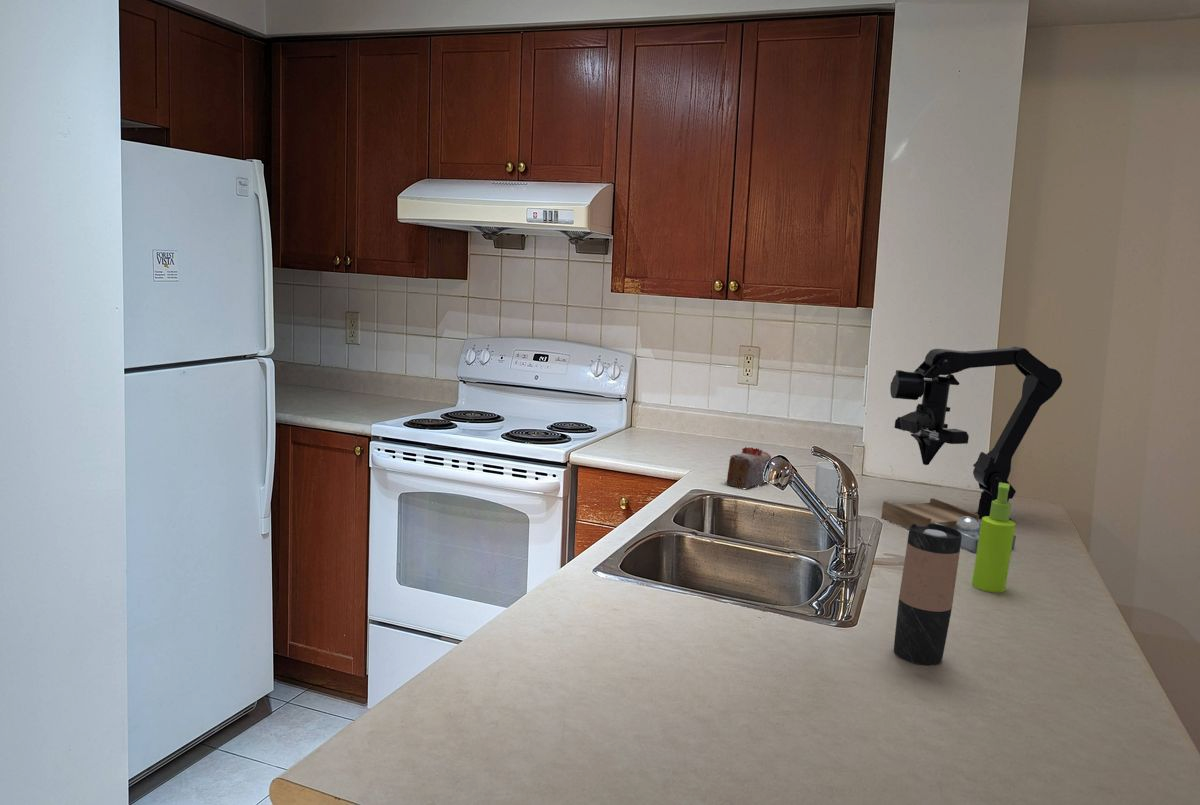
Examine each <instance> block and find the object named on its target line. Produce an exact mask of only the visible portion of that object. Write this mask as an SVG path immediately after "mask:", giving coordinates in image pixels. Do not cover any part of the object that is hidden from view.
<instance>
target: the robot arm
mask: <svg viewBox="0 0 1200 805" xmlns="http://www.w3.org/2000/svg"><path fill="white" fill-rule="evenodd" d="M1010 365H1014V367H1015V368H1016V369H1017V370H1018V372H1020V374H1022V375H1023V376H1024V377H1025V378H1024V380H1023V383H1022V386H1021V387H1022V388H1021V391H1022V392H1021V398H1020V400H1019V402H1018V403H1017V405H1016V406H1015V408H1014V410H1013V412H1012V414H1011V416H1010V418H1009V419H1008V421H1007V423H1006V424H1005V427H1004V429H1003V430H1002V431H1001V434H1000V436H999V438H998V439H997V441H996V443H995V444H994V447H993V448H992V449H991V450H990V451H989V452H987V453H985V452H984V451H981V452H980V453H979V455H978V458H977V460H976V461H975V463H973V464H972V466H973V467H974V468H973V472H972V474H973V477H974V480H975V481H976V482H977V483H978V487H979V490H982V492H980V498H979V501H978V507H977V511H975V512H973V513H975V514H978V515H979V518H980V519H982V517H986V516H990V510H991V503H992V501H994V500H996V499H997V497H998V486H999V482H1000V483H1007V484H1010V488H1009V492H1008V497H1007V501H1008V502H1009V501H1010V499H1013V498H1014V497H1015V495H1016V493H1017V490H1016V489H1015V488H1014V487H1013V486H1012V484H1011V483H1010V482H1009V481H1008V480H1009V477H1010V474H1011V472H1012V471H1011V470H1012V459H1013V457H1014V455H1015V453H1016V452H1017V450H1018V447H1019V446H1020V444H1021V443H1022V440H1023V439H1024V437H1025V435H1026V433H1027V432H1028V430H1029V428H1030V427H1031V424H1032V422H1033V421H1034V419H1035V418H1036V416H1037V413H1038V412H1039V410H1040V408H1041V407H1042V406H1043V405H1044V404H1045V403H1046V402H1047V401H1049V400H1050V399H1051V398H1052V397H1053V396H1055V394H1056V393H1057V391H1058V390H1059V389H1060V387H1061V386H1062V384H1063V377H1062V374H1061V373H1060V371H1058V369H1055V368H1052V367H1049V366H1048V365H1046V364H1045V363H1044V362H1042V361H1041V360H1040V359H1039V358H1037V357H1036V356H1034V355H1033V354H1032V353H1031V352H1030V351H1029V350H1028V349H1026V348H1024V347H1020V346H1012V347H1006V348H994V349H993V348H992V349H982V350H979V349H978V350H968V351H962V350H961V351H960V350H953V349H943V348H933V349H931V350H929V351H928V353H926V355H925V358H924V361H923V362H922V363H921V364H920V365H919V366H918V367H917V368H916V369H915V370H914V371H904V370H901V369H896V370H895V375H894V376H893V377H892V381H891V382H890V387H889V388H890V396H891V398H892V399H899V400H908V401H909V400H911V401H917V400H918V399H919V398H922V399H921V403H917V405H916V408H915V410H914V411H912V412H909V413H906V414H905V415H902V416H898V417H897V418H896V419H895V421H894V426H893V427H894V429H898V430H900V431H903V432H905V431H906V432H909V433H910V437H913V439H914V440H916V441H917V442H916V443H917V444H918V447H919V452H920V457H921V461H922V464H923V465H925V466H927V465H930V464H931V462H932V461H933V459H934V458H935V456H936V454H938V452H939V451H940V449H941V448H942V447H943V446H944V444H945V443H946V444H950V445H959V444H960V445H964V444H965V445H966V444H967V445H968V444H969V437H970V435H969V433H968V431H965V430H961V429H957V428H948V426H949V424H948V423H945V420H946V413H950V412H951V407H949V406H948V402H949V400H948V399H949V394H950V386H951V385H952V386H959V385H960V382H959V381H958V380H957V379H956V377H955V375H954V374H957V373H959V372H962V371H964V370H968V369H974V368H984V367H985V368H986V367H996V366H997V367H999V366H1010ZM1009 503H1010V502H1009ZM1009 520H1011V521H1012V518H1011V517H1009Z"/></svg>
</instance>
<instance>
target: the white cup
mask: <svg viewBox="0 0 1200 805" xmlns="http://www.w3.org/2000/svg"><path fill="white" fill-rule="evenodd" d="M831 462H832V461H819V462H816V465H815V466H816V467H815V468H816V469H815V478H814V480H815V482H814V494H815V493H816V495H817V496H818V497H819V498H820V499H821V500H822V501H823V502H824V503H825V504H826V505H827V506H828V505H830V506H831V505H832V506H835V507H836V498H837V492H836V491H837V483H838V473H837V471H836V469H835V468H834V466H833V464H832V463H831ZM847 466H848V467H849V468H850V466H849V465H847Z"/></svg>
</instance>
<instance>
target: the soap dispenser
mask: <svg viewBox="0 0 1200 805" xmlns="http://www.w3.org/2000/svg"><path fill="white" fill-rule="evenodd" d="M1010 484H1011V483H1010ZM1010 484H1007V483H1000V482H999V486H998V497H997V499H996V500H994V501H992V503H991V510H990V516H986V517H982V518H981V521H980V523H981V527H980V534H979V540H978V547H977V553H975V562H974V568H973V574H972V581H971V585H972V586H973V587H974V588H976V589H978V590H980V591H984V592H989V593H995V594H996V593H1004V592H1005V591H1006V587H1007V586H1006V585H1007V579H1008V574H1009V567H1010V562H1011V561H1010V560H1011V555H1012V550H1013V549H1012V544H1013V537H1014V535H1015V530H1016V522H1015V521H1012V519H1011V520H1009V518H1010V516H1011V515H1010V514H1011V509H1012V504H1011V503H1010V502H1008V501H1007V497H1008V492H1009V488H1010Z"/></svg>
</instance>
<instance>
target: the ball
mask: <svg viewBox="0 0 1200 805" xmlns="http://www.w3.org/2000/svg"><path fill="white" fill-rule="evenodd" d="M978 522H979V520H978V521H977V520H976V519H975V518H973V517H970V516H964V517H961V518H960V519H959V520H958V521H957V523H956V530H957V531H959V532H962V533H964V534H967V535H969V536H972V537H975V536H976V535H977V534H978V533H979V530H980V526H979V523H978Z"/></svg>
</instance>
